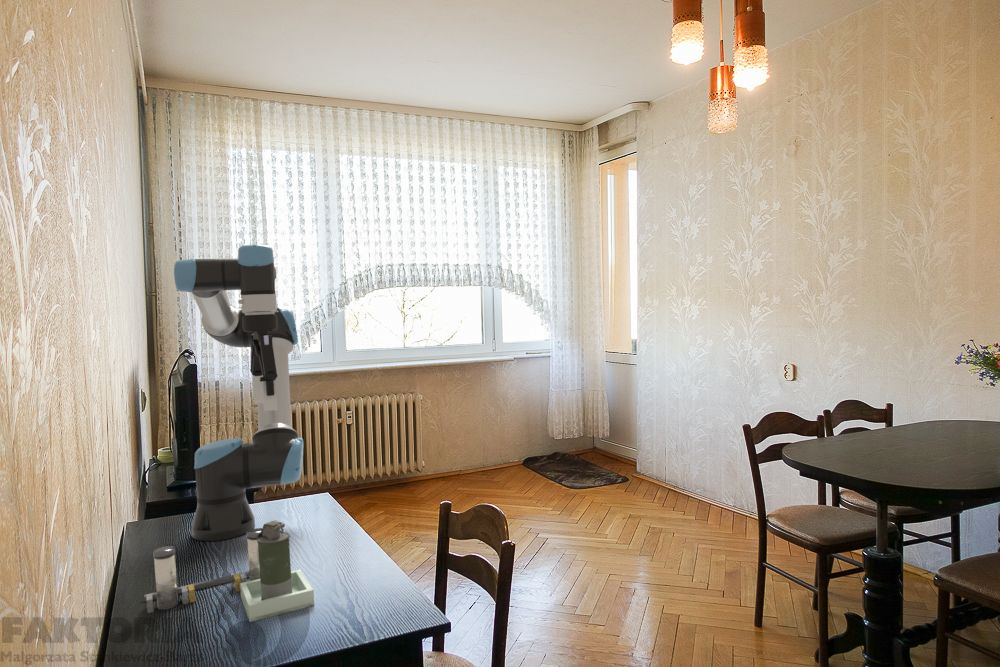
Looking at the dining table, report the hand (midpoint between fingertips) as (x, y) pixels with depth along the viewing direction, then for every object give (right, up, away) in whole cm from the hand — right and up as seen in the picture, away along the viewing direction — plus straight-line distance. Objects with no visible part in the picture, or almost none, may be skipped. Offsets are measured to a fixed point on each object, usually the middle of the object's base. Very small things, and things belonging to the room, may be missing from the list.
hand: (265, 406), depth 148 cm
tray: (+10, -35, -22) cm, 43 cm away
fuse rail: (-5, -36, -16) cm, 39 cm away
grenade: (+10, -35, -22) cm, 43 cm away
